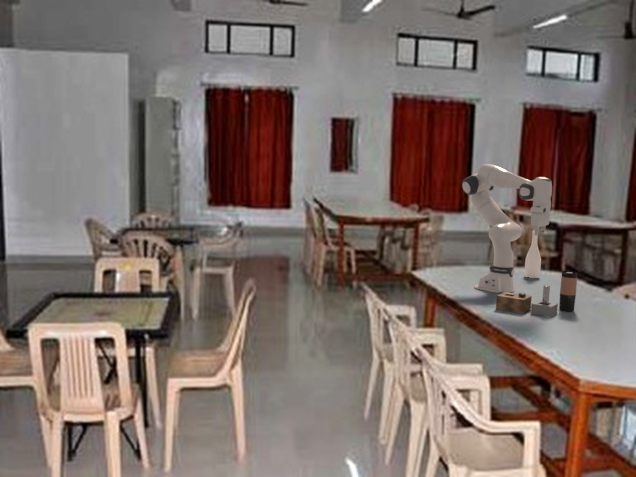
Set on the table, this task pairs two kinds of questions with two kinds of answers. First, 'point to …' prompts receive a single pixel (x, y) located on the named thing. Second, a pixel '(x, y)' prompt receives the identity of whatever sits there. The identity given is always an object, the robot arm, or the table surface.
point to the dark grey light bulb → (522, 295)
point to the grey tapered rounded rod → (546, 295)
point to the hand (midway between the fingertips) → (539, 234)
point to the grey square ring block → (544, 308)
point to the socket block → (513, 302)
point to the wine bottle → (533, 260)
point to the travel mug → (568, 291)
